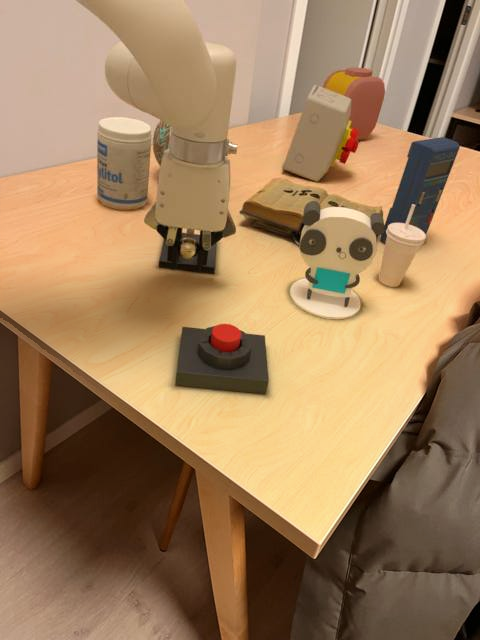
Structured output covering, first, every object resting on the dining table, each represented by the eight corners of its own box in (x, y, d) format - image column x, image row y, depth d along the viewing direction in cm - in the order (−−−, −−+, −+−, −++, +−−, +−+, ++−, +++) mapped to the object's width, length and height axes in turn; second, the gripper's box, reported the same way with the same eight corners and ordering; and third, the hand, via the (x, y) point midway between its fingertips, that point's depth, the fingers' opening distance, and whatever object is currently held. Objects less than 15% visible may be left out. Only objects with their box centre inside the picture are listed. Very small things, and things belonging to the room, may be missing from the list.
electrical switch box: (337, 196, 127) (373, 114, 116) (279, 173, 128) (309, 90, 116) (343, 177, 139) (376, 101, 127) (290, 156, 140) (318, 79, 128)
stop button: (209, 351, 64) (211, 339, 63) (210, 333, 66) (212, 322, 65) (239, 354, 64) (241, 343, 63) (239, 336, 67) (241, 325, 66)
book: (378, 232, 108) (387, 205, 105) (362, 265, 95) (371, 236, 92) (265, 198, 114) (270, 172, 111) (236, 225, 101) (240, 196, 98)
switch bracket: (214, 274, 85) (223, 206, 79) (158, 267, 85) (162, 198, 78) (215, 242, 94) (224, 179, 88) (165, 236, 94) (169, 171, 87)
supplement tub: (87, 203, 100) (85, 124, 91) (112, 187, 107) (113, 112, 99) (134, 216, 98) (136, 136, 90) (156, 199, 106) (160, 124, 97)
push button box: (175, 385, 63) (177, 360, 61) (181, 339, 70) (183, 315, 68) (265, 394, 64) (271, 369, 62) (262, 348, 71) (267, 324, 69)
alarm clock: (348, 129, 172) (364, 64, 161) (374, 140, 166) (393, 73, 154) (309, 133, 161) (324, 64, 150) (336, 145, 155) (354, 74, 144)
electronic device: (398, 251, 102) (435, 149, 91) (377, 240, 105) (410, 139, 94) (425, 242, 108) (463, 144, 96) (405, 231, 111) (439, 135, 99)
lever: (197, 264, 79) (198, 250, 76) (176, 261, 79) (176, 248, 76) (204, 201, 86) (205, 186, 83) (184, 198, 86) (185, 184, 83)
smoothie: (393, 270, 95) (419, 197, 87) (414, 289, 91) (444, 214, 83) (363, 272, 93) (388, 198, 85) (384, 292, 88) (411, 215, 80)
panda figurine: (282, 309, 80) (303, 218, 71) (288, 273, 89) (307, 188, 80) (361, 325, 79) (391, 236, 71) (358, 287, 89) (385, 204, 80)
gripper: (257, 146, 74) (239, 260, 84) (139, 130, 72) (135, 248, 83) (260, 165, 68) (240, 285, 78) (130, 148, 66) (128, 273, 77)
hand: (186, 265), depth 81 cm, fingers closed on lever, 3 cm apart
